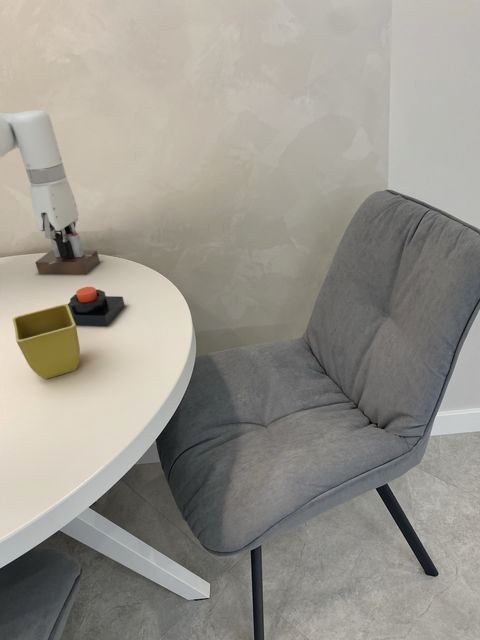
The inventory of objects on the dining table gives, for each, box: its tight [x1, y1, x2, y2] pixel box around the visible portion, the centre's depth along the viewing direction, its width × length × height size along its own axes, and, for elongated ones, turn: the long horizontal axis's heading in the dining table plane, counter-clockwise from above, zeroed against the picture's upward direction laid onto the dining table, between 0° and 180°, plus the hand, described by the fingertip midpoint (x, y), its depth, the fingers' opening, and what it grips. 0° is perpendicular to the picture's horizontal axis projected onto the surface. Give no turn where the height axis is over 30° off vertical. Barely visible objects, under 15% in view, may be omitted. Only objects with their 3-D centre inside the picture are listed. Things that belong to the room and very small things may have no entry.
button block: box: [66, 289, 126, 327], centre depth 104 cm, size 10×8×4 cm
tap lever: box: [50, 232, 84, 257], centre depth 124 cm, size 6×2×5 cm, turn 78°
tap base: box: [34, 249, 101, 276], centre depth 126 cm, size 12×9×3 cm
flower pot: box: [12, 303, 81, 380], centre depth 88 cm, size 9×9×9 cm
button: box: [75, 286, 98, 302], centre depth 103 cm, size 4×4×2 cm
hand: (70, 255), depth 125 cm, fingers closed
